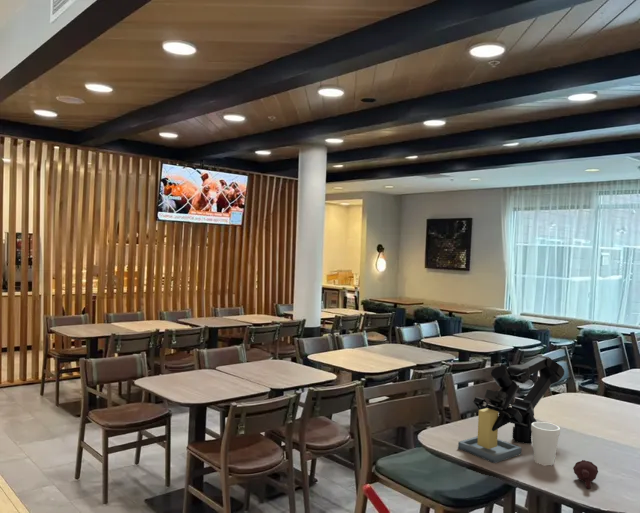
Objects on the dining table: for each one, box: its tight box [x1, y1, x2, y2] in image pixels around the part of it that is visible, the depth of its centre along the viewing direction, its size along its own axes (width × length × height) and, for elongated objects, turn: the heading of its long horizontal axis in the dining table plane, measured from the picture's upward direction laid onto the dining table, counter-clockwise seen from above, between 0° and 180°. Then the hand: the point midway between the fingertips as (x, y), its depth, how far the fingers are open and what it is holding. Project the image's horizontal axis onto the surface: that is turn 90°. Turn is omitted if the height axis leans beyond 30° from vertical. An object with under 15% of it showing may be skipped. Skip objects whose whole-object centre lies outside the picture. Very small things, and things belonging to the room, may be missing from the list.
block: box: [477, 408, 499, 449], centre depth 198 cm, size 5×5×13 cm
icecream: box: [572, 459, 599, 490], centre depth 176 cm, size 7×7×15 cm
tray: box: [457, 435, 522, 464], centre depth 199 cm, size 16×16×2 cm
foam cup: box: [531, 421, 561, 466], centre depth 191 cm, size 10×9×13 cm
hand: (486, 428), depth 198 cm, fingers closed on block, 5 cm apart
